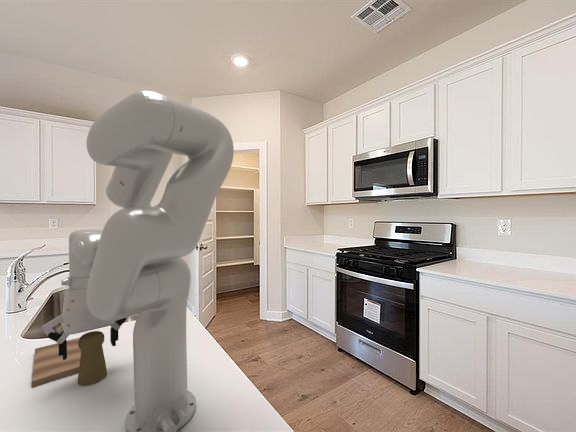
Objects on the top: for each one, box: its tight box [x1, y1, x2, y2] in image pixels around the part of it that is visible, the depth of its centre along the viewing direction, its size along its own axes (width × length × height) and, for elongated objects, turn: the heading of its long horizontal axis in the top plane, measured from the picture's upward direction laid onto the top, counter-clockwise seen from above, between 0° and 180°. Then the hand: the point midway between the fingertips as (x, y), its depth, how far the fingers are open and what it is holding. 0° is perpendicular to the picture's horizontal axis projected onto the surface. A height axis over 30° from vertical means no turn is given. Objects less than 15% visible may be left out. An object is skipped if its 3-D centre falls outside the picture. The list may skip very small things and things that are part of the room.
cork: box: [76, 330, 108, 387], centre depth 67 cm, size 6×6×11 cm
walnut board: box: [31, 337, 81, 389], centre depth 75 cm, size 20×12×2 cm, turn 41°
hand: (90, 350), depth 67 cm, fingers open, 9 cm apart
